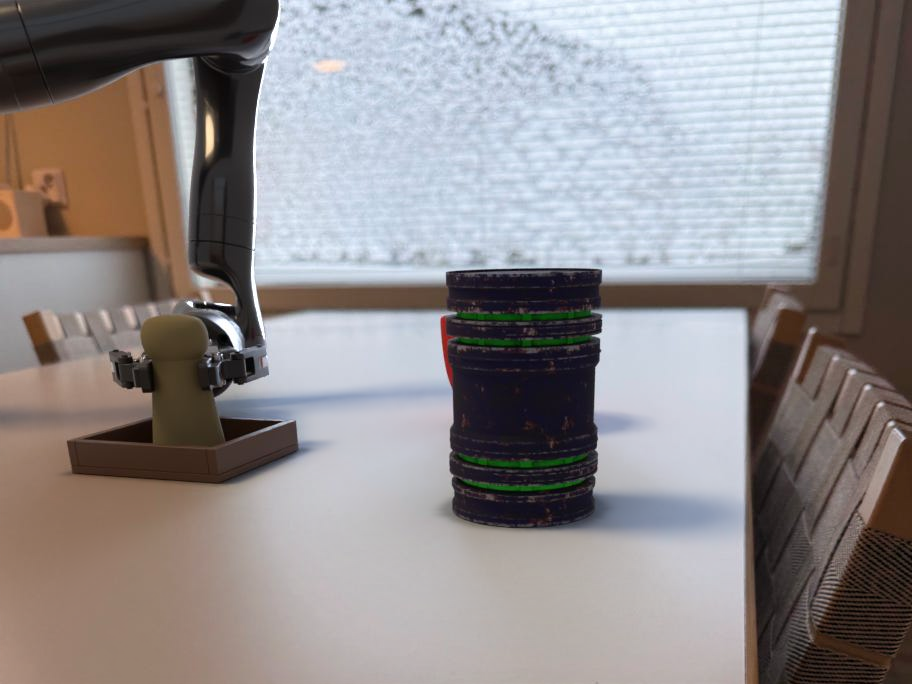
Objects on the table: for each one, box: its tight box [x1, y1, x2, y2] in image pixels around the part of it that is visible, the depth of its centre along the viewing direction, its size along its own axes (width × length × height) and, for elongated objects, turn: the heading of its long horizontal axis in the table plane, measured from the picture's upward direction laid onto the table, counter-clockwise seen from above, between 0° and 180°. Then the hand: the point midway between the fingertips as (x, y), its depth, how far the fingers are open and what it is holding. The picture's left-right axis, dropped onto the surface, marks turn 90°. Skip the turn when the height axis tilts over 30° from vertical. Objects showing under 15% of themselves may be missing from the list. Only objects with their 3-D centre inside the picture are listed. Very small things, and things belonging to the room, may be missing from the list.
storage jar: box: [445, 267, 603, 528], centre depth 62 cm, size 10×10×15 cm
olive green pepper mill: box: [139, 313, 225, 447], centre depth 78 cm, size 6×6×11 cm
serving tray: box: [66, 416, 300, 484], centre depth 79 cm, size 14×13×3 cm
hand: (175, 378), depth 75 cm, fingers closed on olive green pepper mill, 4 cm apart
